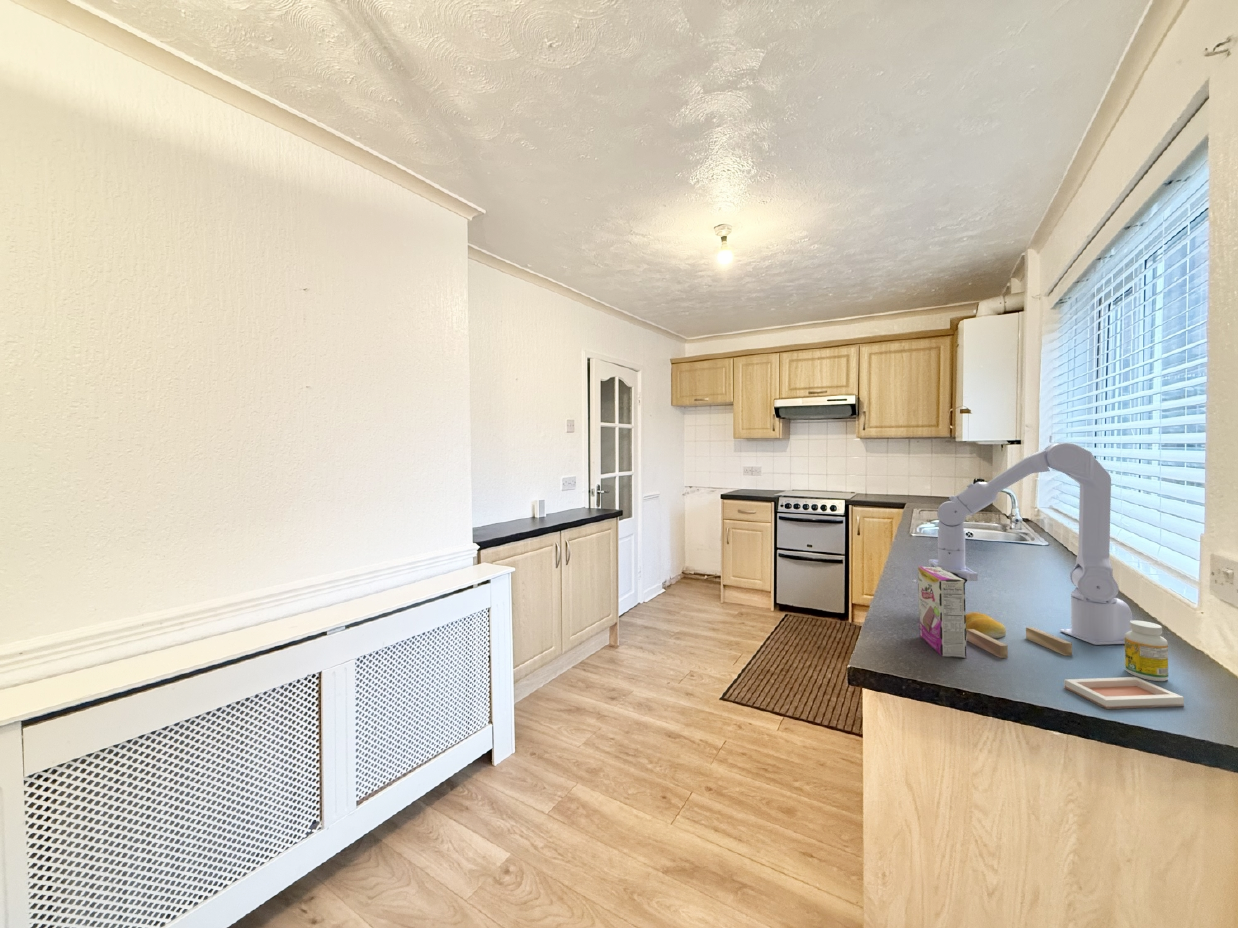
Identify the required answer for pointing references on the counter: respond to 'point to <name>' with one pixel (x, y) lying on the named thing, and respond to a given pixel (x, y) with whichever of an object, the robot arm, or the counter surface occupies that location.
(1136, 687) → the tray
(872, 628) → the counter surface
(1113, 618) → the robot arm
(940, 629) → the candy bar box
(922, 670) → the counter surface
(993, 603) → the counter surface
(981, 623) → the bread roll
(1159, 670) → the supplement bottle
